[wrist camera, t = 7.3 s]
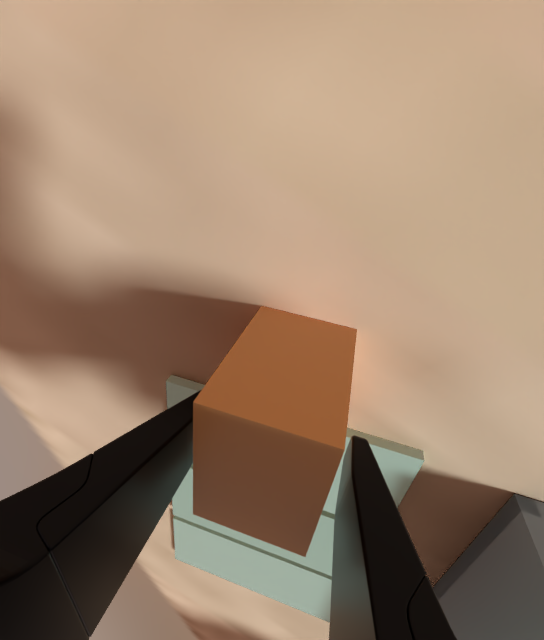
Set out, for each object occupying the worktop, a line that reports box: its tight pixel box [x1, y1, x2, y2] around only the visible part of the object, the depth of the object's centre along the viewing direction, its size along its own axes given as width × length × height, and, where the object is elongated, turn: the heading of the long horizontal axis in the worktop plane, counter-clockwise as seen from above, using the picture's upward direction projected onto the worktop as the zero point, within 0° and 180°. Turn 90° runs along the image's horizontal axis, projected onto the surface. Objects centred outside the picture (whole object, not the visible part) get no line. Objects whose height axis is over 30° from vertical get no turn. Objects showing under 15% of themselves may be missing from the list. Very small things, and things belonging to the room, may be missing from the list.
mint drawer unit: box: [166, 306, 424, 622], centre depth 13 cm, size 18×10×5 cm, turn 173°
